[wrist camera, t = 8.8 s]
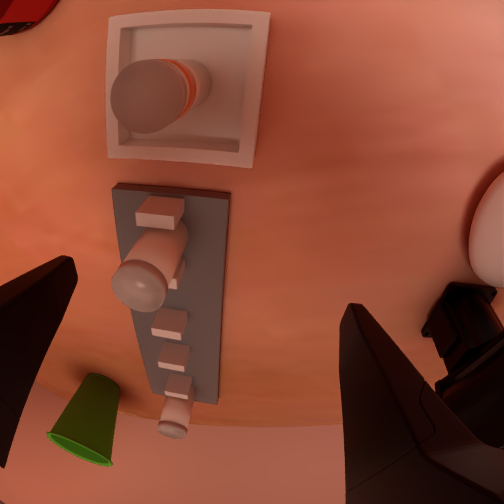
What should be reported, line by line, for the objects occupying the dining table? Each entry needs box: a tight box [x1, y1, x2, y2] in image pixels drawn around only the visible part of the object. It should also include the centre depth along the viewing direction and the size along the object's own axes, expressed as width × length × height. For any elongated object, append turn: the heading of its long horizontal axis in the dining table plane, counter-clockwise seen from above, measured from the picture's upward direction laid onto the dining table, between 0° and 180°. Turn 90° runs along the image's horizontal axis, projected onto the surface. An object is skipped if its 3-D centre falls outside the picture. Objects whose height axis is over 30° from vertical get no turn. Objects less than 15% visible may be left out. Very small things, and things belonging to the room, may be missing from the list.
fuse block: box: [112, 183, 230, 417], centre depth 26 cm, size 8×26×3 cm, turn 174°
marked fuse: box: [110, 59, 212, 134], centre depth 13 cm, size 3×3×6 cm
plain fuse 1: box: [111, 220, 189, 312], centre depth 18 cm, size 3×3×6 cm
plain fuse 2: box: [157, 384, 196, 439], centre depth 30 cm, size 3×3×6 cm
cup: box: [47, 374, 120, 467], centre depth 32 cm, size 9×9×11 cm
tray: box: [106, 9, 271, 169], centre depth 15 cm, size 9×9×2 cm
